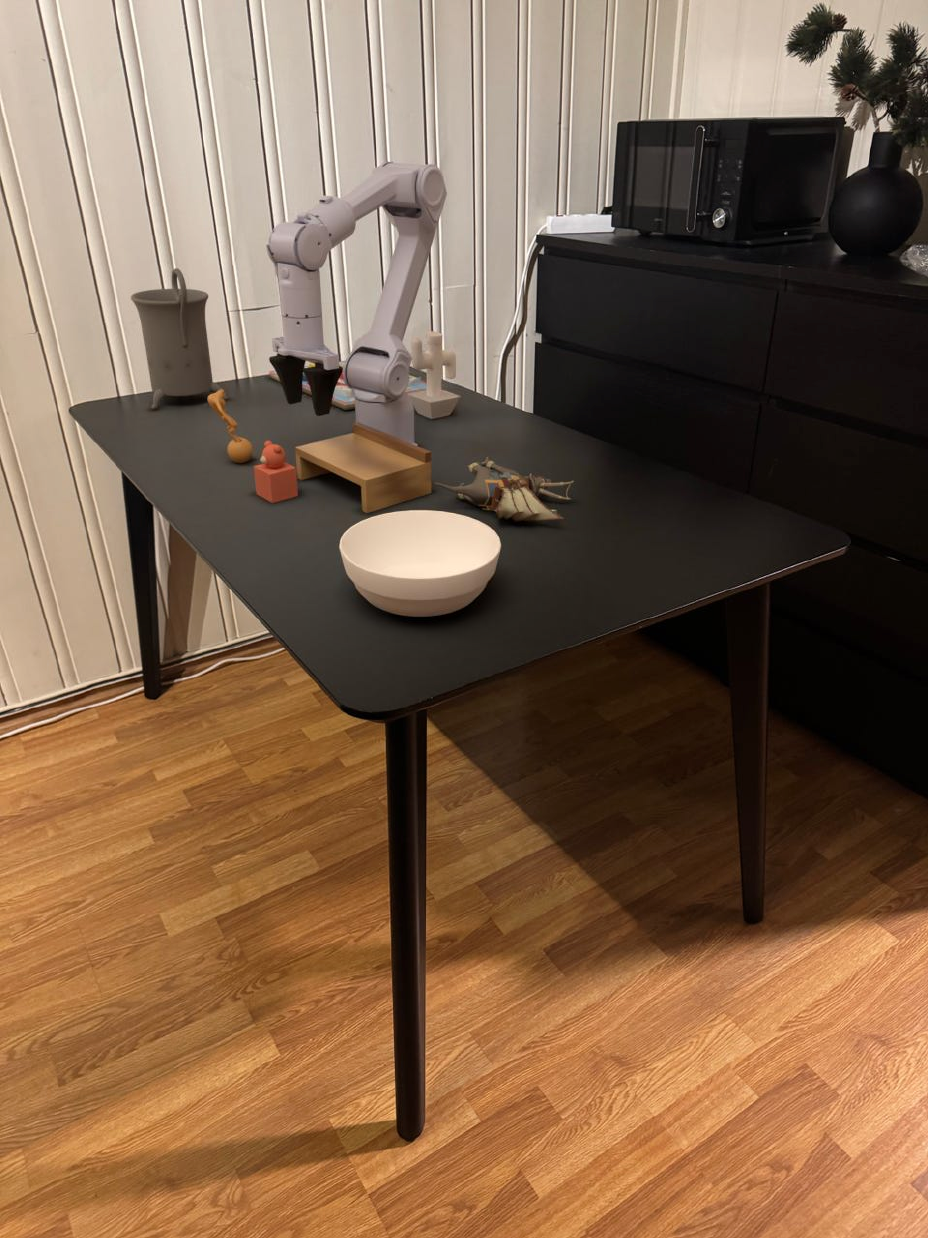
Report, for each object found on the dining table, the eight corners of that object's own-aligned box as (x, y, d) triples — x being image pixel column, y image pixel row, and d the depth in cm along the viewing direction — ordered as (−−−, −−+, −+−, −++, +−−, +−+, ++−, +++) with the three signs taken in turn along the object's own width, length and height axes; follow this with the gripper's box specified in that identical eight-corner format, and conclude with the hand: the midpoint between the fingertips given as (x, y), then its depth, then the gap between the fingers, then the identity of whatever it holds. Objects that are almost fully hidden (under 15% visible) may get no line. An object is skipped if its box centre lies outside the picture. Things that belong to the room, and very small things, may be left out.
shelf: (360, 461, 141) (358, 422, 138) (431, 493, 130) (431, 451, 127) (297, 478, 134) (294, 437, 131) (367, 513, 123) (365, 469, 120)
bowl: (428, 549, 113) (428, 498, 109) (531, 601, 101) (534, 545, 98) (311, 594, 102) (306, 537, 98) (411, 657, 91) (410, 596, 87)
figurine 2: (465, 414, 164) (466, 332, 157) (425, 423, 159) (425, 339, 152) (441, 405, 169) (442, 325, 162) (402, 413, 164) (401, 332, 156)
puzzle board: (441, 392, 177) (441, 379, 176) (345, 412, 164) (344, 398, 163) (359, 362, 197) (358, 350, 196) (268, 377, 184) (267, 365, 183)
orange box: (282, 487, 131) (277, 435, 127) (298, 495, 128) (294, 443, 124) (256, 494, 128) (251, 442, 124) (272, 503, 125) (267, 450, 121)
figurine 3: (543, 449, 132) (608, 488, 119) (538, 487, 135) (601, 529, 122) (424, 460, 123) (480, 503, 110) (421, 500, 126) (476, 547, 113)
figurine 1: (259, 468, 137) (251, 393, 131) (221, 473, 135) (211, 397, 129) (248, 452, 144) (240, 379, 138) (211, 457, 142) (201, 383, 136)
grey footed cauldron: (134, 393, 172) (111, 258, 160) (208, 384, 179) (191, 254, 167) (160, 419, 159) (137, 273, 146) (238, 407, 165) (222, 268, 153)
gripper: (251, 309, 126) (260, 402, 133) (306, 326, 117) (312, 424, 124) (292, 304, 130) (299, 394, 137) (349, 320, 121) (353, 415, 128)
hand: (308, 408), depth 131 cm, fingers open, 7 cm apart
